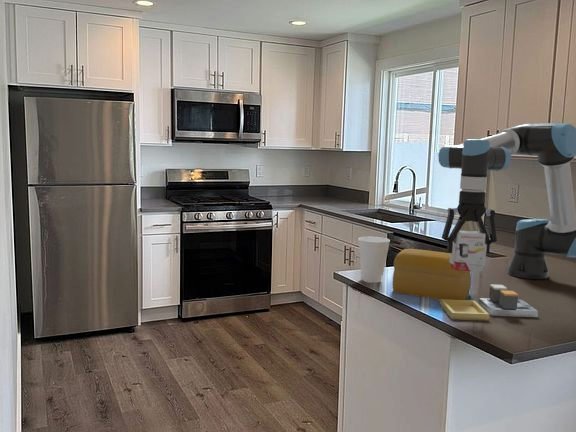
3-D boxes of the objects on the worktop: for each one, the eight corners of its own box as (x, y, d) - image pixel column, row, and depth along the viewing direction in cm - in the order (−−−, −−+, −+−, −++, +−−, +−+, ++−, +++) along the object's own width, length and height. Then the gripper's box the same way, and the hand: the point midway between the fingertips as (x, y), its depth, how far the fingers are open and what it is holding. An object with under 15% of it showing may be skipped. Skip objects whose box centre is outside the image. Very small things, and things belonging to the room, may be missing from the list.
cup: (392, 279, 205) (394, 238, 203) (381, 286, 195) (383, 243, 193) (363, 275, 211) (365, 235, 209) (351, 281, 201) (353, 239, 199)
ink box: (455, 271, 163) (457, 232, 161) (450, 267, 168) (452, 230, 166) (483, 272, 163) (486, 233, 161) (478, 268, 168) (480, 231, 166)
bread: (391, 292, 189) (393, 250, 187) (402, 284, 200) (404, 244, 198) (462, 303, 177) (466, 259, 175) (470, 294, 188) (473, 252, 186)
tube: (479, 243, 289) (483, 197, 285) (461, 242, 289) (464, 196, 285) (473, 239, 299) (476, 195, 295) (455, 239, 299) (458, 194, 295)
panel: (521, 305, 176) (522, 299, 176) (537, 317, 165) (538, 310, 164) (478, 304, 177) (479, 297, 176) (491, 315, 165) (492, 308, 165)
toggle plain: (501, 298, 176) (502, 284, 175) (505, 302, 172) (507, 288, 171) (489, 298, 176) (490, 284, 175) (493, 301, 172) (494, 287, 171)
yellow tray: (474, 306, 174) (474, 300, 174) (488, 320, 160) (489, 314, 160) (440, 305, 174) (440, 299, 174) (451, 319, 160) (452, 312, 160)
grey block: (511, 304, 169) (513, 290, 168) (516, 308, 165) (518, 294, 164) (498, 304, 169) (500, 290, 168) (503, 308, 165) (504, 293, 164)
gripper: (503, 190, 165) (497, 262, 168) (434, 188, 166) (429, 259, 169) (513, 192, 158) (506, 267, 161) (440, 190, 158) (435, 265, 161)
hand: (467, 263), depth 165 cm, fingers closed on ink box, 9 cm apart
